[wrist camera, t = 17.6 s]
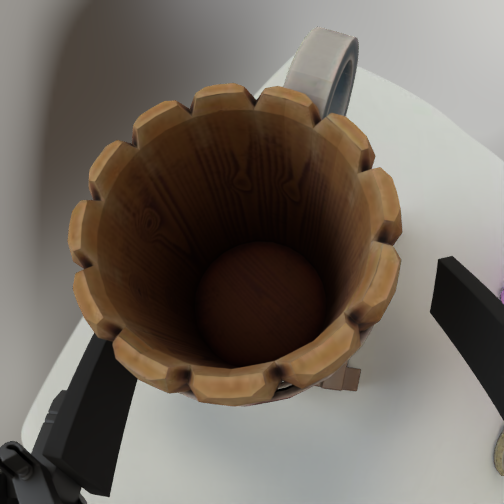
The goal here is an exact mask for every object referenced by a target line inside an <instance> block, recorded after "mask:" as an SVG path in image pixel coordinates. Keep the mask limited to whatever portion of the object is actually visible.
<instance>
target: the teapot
mask: <svg viewBox="0 0 504 504" xmlns="http://www.w3.org/2000/svg"><path fill="white" fill-rule="evenodd" d="M501 301H502V303H503V304H504V290H503V291H502V293H501Z"/></svg>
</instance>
